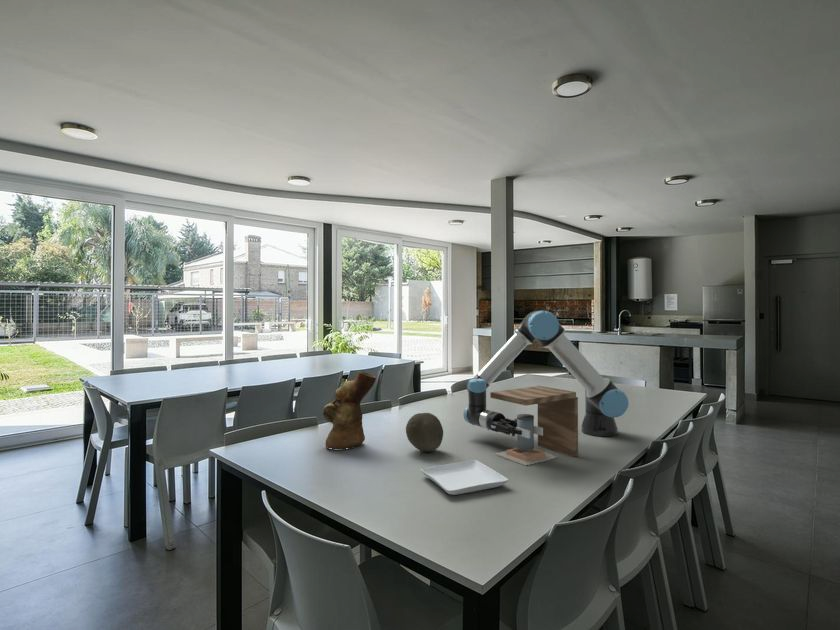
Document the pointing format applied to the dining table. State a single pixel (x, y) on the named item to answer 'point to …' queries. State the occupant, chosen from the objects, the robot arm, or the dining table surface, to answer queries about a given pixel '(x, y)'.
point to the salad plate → (464, 477)
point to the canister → (526, 423)
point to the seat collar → (525, 456)
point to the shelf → (550, 415)
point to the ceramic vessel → (348, 412)
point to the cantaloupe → (424, 432)
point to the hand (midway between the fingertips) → (535, 433)
